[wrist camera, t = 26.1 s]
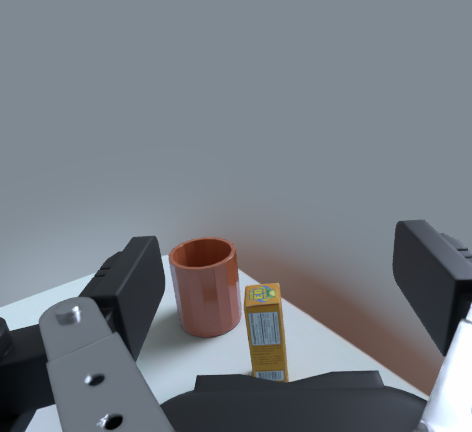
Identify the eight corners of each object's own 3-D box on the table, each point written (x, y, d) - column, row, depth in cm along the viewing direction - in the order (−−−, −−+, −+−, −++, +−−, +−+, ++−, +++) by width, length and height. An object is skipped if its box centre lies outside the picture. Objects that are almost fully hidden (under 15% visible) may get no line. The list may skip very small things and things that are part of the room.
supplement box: (252, 366, 36) (244, 282, 33) (286, 365, 36) (283, 280, 32) (251, 394, 33) (243, 304, 30) (289, 393, 33) (285, 303, 29)
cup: (252, 307, 45) (247, 244, 42) (217, 346, 40) (208, 275, 36) (205, 292, 49) (197, 233, 46) (167, 325, 44) (154, 260, 40)
